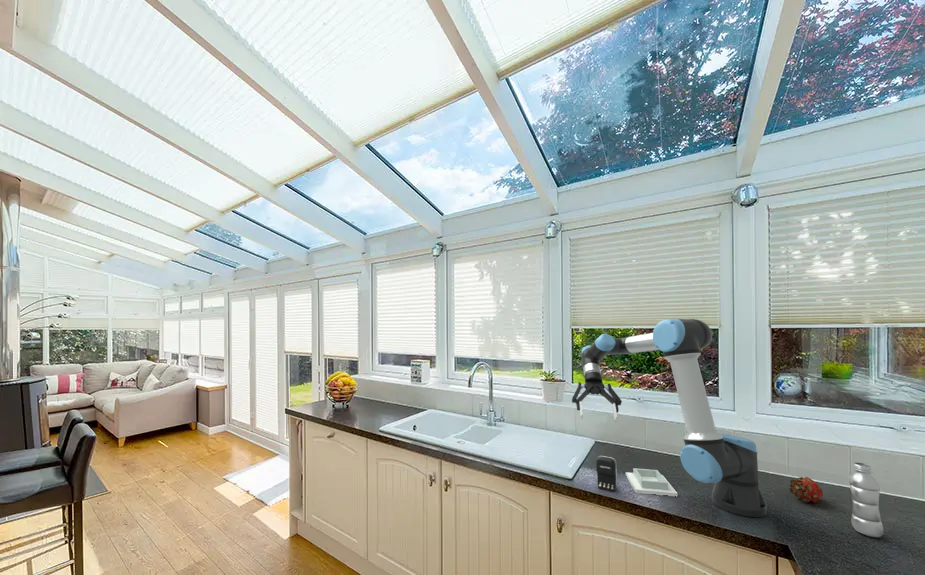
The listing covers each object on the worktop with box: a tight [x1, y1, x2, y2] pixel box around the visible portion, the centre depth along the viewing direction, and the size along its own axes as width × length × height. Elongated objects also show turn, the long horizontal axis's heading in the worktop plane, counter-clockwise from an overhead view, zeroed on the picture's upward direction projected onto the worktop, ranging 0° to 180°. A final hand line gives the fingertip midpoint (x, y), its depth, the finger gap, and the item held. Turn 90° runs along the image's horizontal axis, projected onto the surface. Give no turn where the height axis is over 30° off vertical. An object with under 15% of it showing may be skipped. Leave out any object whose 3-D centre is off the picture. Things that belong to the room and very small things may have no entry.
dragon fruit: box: [788, 476, 823, 504], centre depth 132 cm, size 8×8×12 cm
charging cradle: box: [625, 467, 679, 498], centre depth 143 cm, size 14×16×4 cm
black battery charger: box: [595, 455, 618, 492], centre depth 140 cm, size 7×4×11 cm, turn 58°
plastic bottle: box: [848, 461, 884, 538], centre depth 112 cm, size 6×7×20 cm
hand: (598, 417), depth 154 cm, fingers open, 13 cm apart
